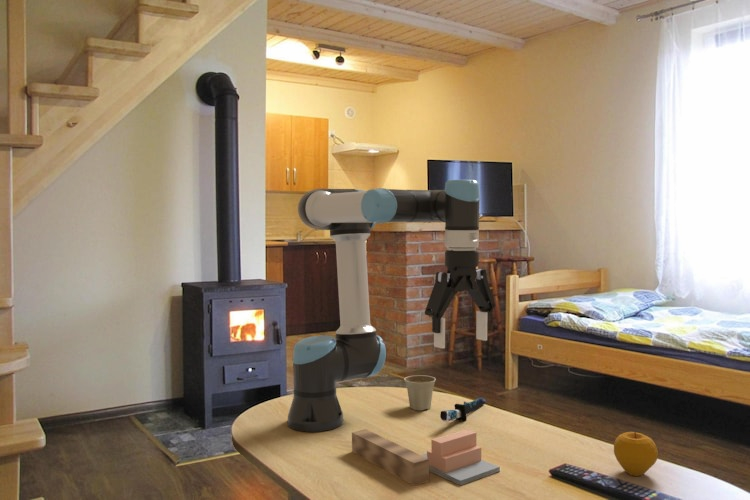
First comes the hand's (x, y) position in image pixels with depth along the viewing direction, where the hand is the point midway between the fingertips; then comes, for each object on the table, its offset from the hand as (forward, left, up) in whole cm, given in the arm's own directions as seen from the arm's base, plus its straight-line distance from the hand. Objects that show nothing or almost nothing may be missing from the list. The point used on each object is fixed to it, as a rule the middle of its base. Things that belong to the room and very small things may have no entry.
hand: (461, 343), depth 142 cm
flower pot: (-39, +21, -28) cm, 52 cm away
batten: (-10, -14, -28) cm, 32 cm away
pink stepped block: (0, -3, -27) cm, 28 cm away
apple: (+27, +25, -28) cm, 46 cm away
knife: (-24, +25, -28) cm, 44 cm away
